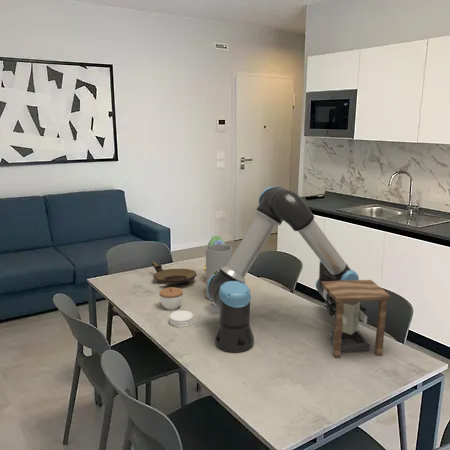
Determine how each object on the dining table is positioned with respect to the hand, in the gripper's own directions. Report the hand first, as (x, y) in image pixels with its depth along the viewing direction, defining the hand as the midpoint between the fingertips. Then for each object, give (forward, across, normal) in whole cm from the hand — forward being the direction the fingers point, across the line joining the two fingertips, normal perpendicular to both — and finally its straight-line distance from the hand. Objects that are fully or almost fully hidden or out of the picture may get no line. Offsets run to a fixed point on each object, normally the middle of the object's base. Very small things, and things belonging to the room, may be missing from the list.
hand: (355, 320), depth 168 cm
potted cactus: (-79, +44, -12) cm, 91 cm away
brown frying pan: (-83, +68, -12) cm, 107 cm away
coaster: (-31, +64, -12) cm, 72 cm away
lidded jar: (-47, +69, -12) cm, 84 cm away
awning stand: (-4, 0, -12) cm, 12 cm away
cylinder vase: (-57, +46, -12) cm, 74 cm away
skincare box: (-5, 0, -7) cm, 8 cm away
